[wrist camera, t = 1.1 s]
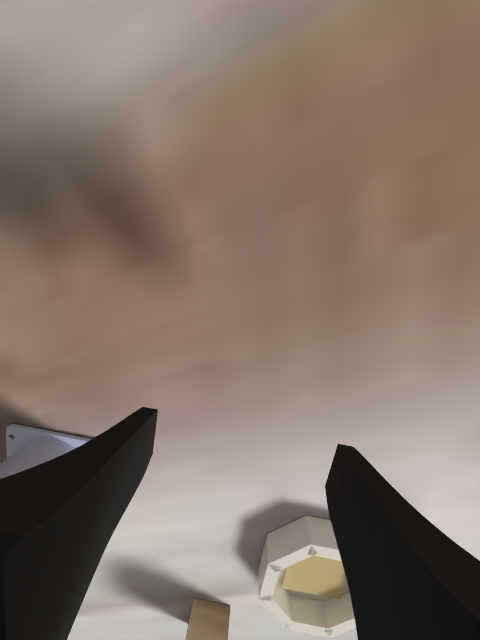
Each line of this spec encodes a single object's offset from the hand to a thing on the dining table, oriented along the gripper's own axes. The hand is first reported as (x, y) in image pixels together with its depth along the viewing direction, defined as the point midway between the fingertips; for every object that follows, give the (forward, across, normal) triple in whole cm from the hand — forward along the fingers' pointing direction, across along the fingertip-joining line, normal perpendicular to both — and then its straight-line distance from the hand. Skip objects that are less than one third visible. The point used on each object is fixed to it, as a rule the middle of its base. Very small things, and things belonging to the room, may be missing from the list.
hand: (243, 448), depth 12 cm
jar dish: (+10, -9, +18) cm, 22 cm away
